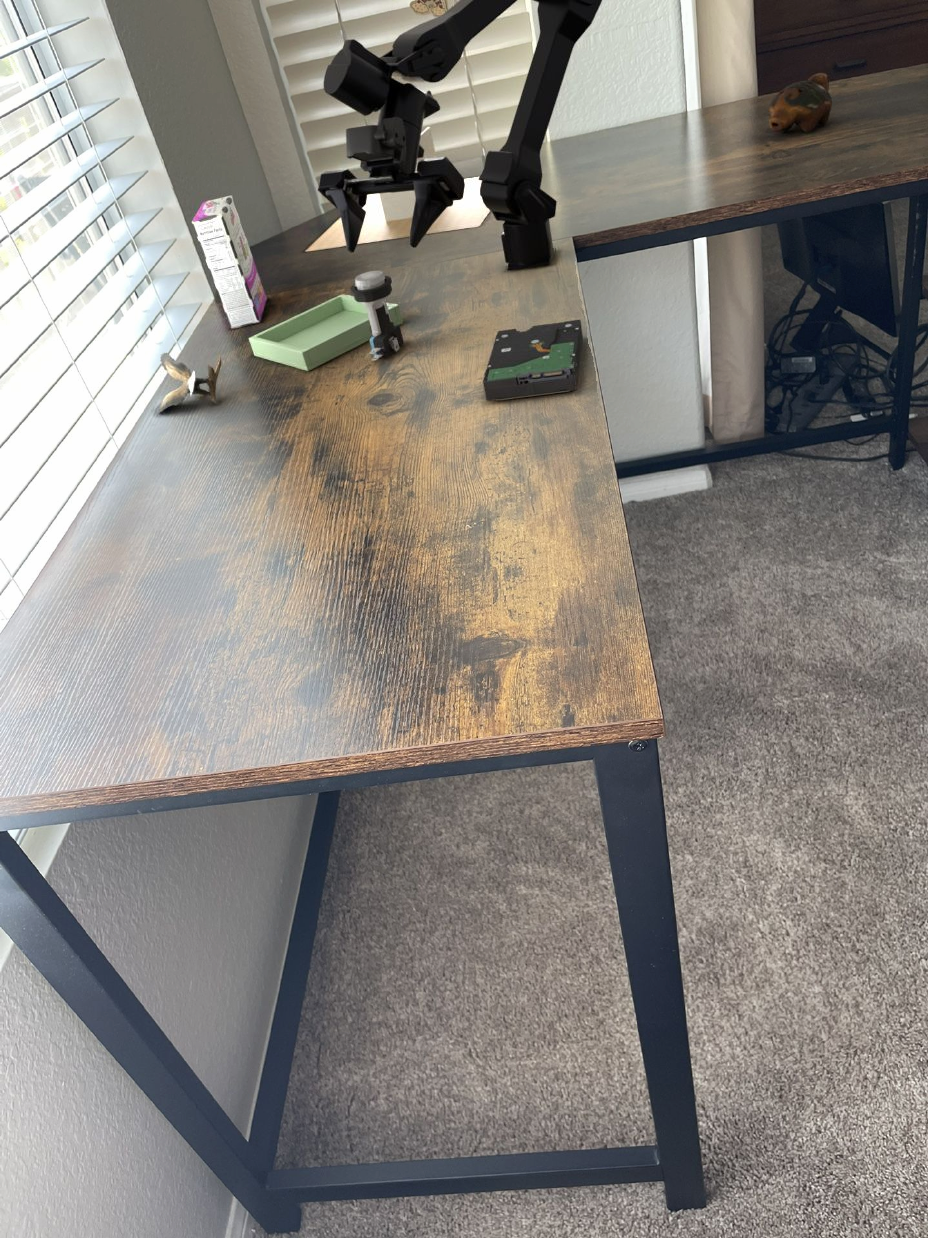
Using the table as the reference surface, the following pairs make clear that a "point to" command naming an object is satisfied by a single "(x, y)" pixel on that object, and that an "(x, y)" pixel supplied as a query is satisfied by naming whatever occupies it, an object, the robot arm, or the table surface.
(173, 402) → the eagle figurine
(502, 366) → the disk drive
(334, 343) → the tray
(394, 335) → the push button
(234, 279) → the candy bar box
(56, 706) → the table surface
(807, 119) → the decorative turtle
